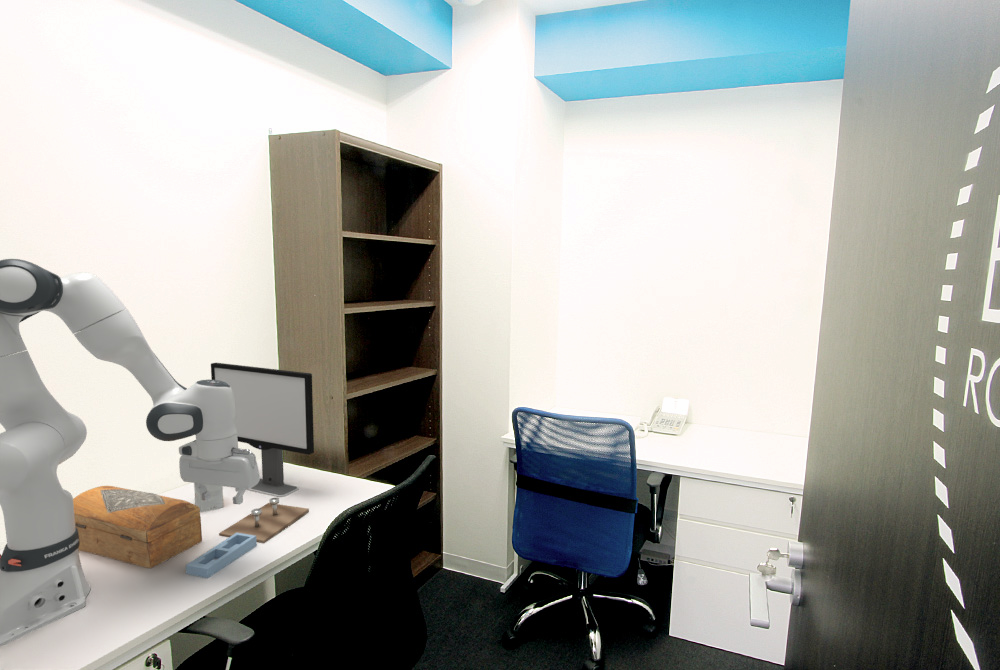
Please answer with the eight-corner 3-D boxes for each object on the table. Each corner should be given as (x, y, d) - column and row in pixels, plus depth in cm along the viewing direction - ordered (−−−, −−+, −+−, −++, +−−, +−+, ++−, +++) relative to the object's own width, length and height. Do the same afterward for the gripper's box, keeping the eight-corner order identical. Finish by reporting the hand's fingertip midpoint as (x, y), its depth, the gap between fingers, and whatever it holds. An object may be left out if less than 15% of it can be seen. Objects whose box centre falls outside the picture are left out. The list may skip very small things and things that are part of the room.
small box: (224, 507, 165) (221, 466, 163) (200, 513, 161) (198, 470, 159) (217, 498, 171) (215, 458, 169) (194, 504, 167) (192, 462, 165)
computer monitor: (210, 481, 184) (204, 364, 179) (231, 473, 192) (226, 360, 187) (306, 503, 168) (302, 375, 163) (324, 493, 176) (321, 371, 171)
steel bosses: (257, 529, 150) (257, 513, 149) (249, 527, 150) (249, 511, 150) (281, 513, 159) (281, 498, 159) (273, 512, 160) (273, 497, 159)
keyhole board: (263, 544, 143) (263, 540, 143) (219, 536, 147) (219, 533, 147) (308, 511, 163) (308, 508, 163) (268, 505, 166) (268, 502, 166)
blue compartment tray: (256, 546, 142) (256, 535, 142) (207, 581, 126) (207, 569, 126) (237, 543, 144) (236, 532, 143) (186, 577, 128) (185, 565, 128)
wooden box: (207, 542, 144) (204, 492, 143) (148, 575, 129) (144, 519, 127) (126, 522, 155) (122, 475, 153) (62, 550, 139) (58, 498, 137)
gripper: (263, 445, 132) (267, 500, 134) (193, 439, 137) (197, 492, 139) (245, 454, 126) (249, 511, 128) (172, 447, 131) (177, 502, 133)
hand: (221, 501), depth 133 cm, fingers open, 8 cm apart
